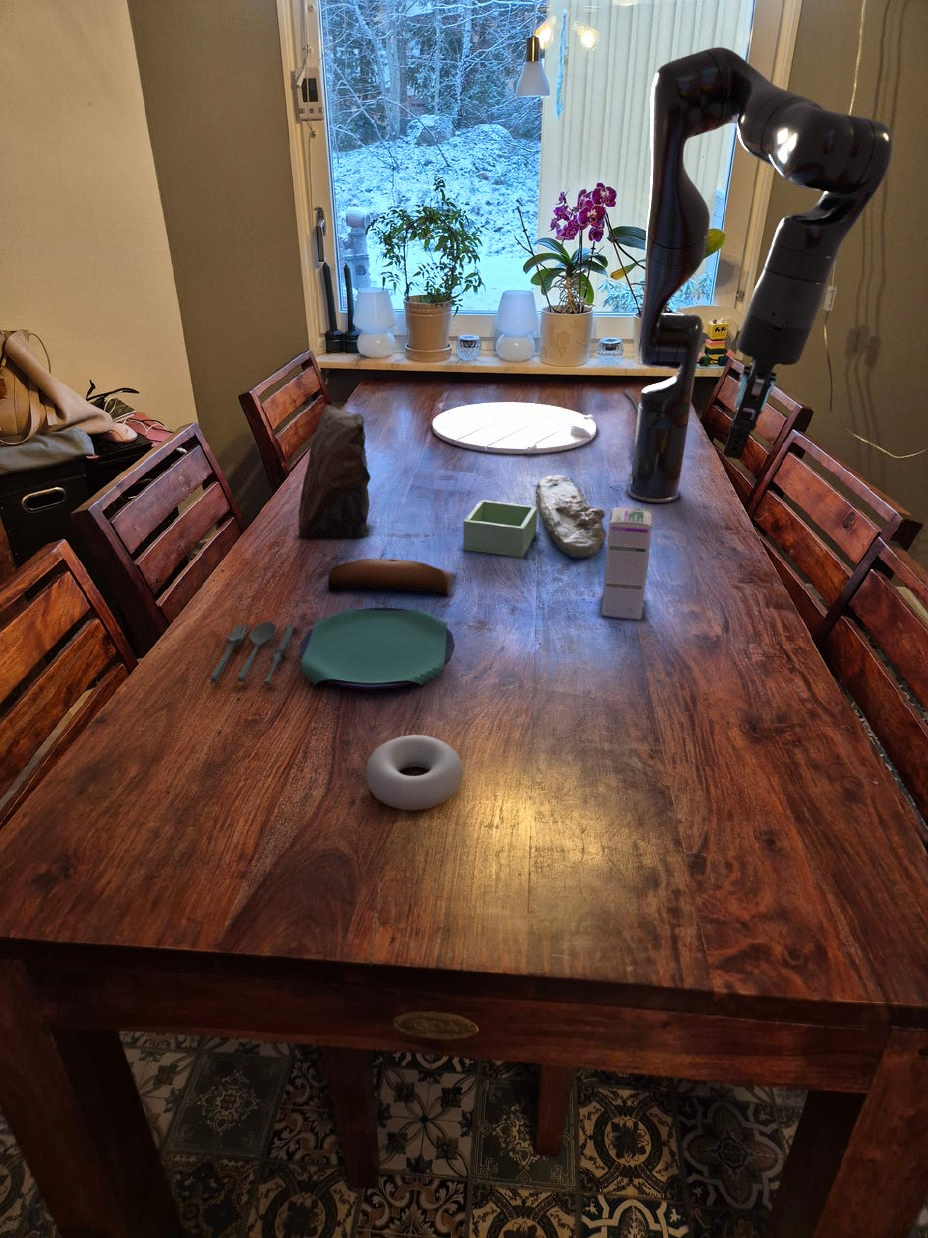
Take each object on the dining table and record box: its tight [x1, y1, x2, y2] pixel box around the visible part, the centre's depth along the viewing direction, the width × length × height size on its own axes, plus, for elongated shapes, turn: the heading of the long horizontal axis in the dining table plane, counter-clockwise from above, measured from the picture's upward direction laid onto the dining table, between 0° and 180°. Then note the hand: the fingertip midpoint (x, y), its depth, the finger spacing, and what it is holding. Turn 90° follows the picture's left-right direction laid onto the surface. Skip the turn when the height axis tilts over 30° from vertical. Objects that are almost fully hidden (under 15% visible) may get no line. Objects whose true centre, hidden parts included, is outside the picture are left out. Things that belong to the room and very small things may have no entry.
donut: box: [364, 734, 464, 811], centre depth 83 cm, size 10×4×10 cm
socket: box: [462, 499, 538, 559], centre depth 137 cm, size 10×10×5 cm
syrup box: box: [601, 507, 653, 620], centre depth 114 cm, size 6×6×14 cm
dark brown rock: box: [297, 404, 372, 539], centre depth 138 cm, size 13×13×20 cm
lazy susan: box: [432, 401, 597, 455], centre depth 195 cm, size 40×39×3 cm
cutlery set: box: [209, 606, 456, 690], centre depth 105 cm, size 20×30×2 cm, turn 89°
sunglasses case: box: [327, 558, 453, 596], centre depth 123 cm, size 18×7×7 cm
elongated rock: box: [535, 474, 607, 558], centre depth 145 cm, size 35×5×10 cm
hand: (733, 445), depth 104 cm, fingers open, 8 cm apart
